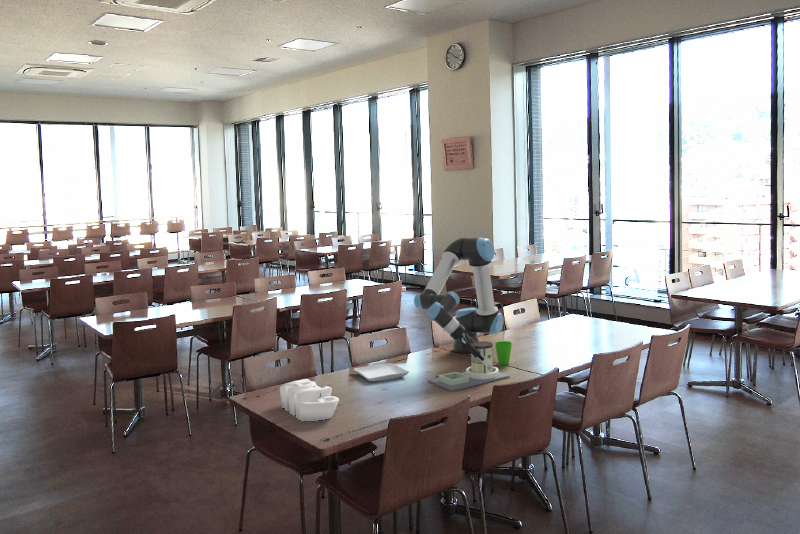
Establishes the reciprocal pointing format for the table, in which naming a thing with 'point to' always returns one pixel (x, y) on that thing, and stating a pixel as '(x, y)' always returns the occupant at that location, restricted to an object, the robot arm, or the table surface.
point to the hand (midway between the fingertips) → (488, 361)
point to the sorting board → (466, 379)
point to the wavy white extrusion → (308, 400)
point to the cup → (503, 351)
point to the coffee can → (487, 351)
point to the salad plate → (381, 372)
